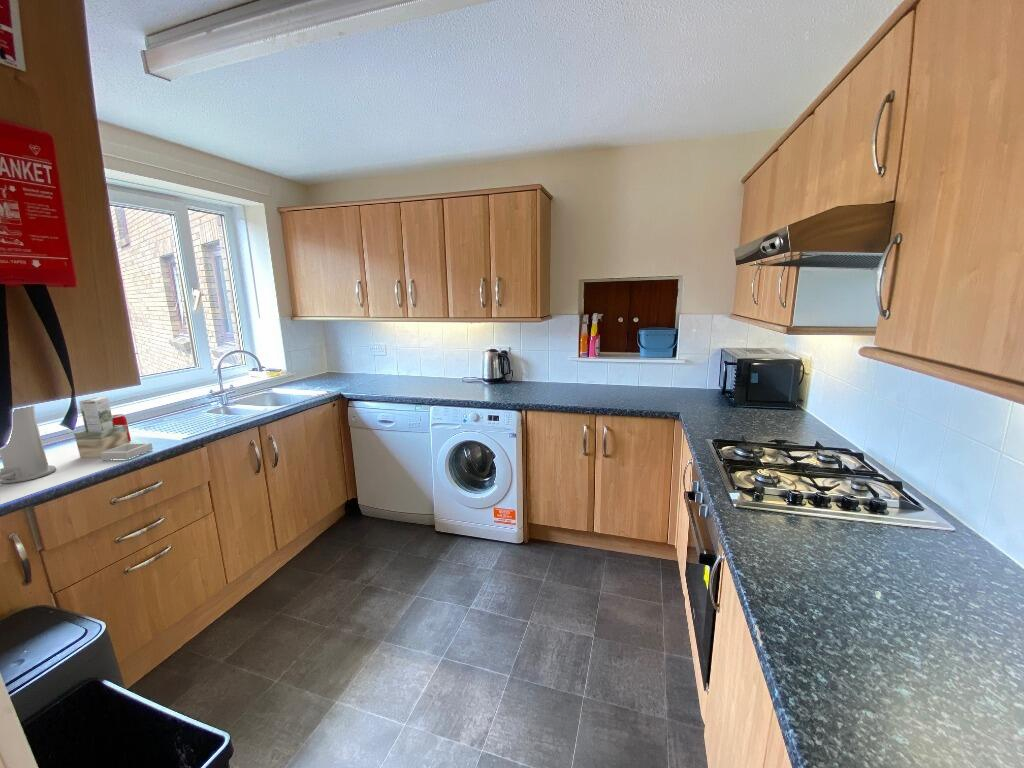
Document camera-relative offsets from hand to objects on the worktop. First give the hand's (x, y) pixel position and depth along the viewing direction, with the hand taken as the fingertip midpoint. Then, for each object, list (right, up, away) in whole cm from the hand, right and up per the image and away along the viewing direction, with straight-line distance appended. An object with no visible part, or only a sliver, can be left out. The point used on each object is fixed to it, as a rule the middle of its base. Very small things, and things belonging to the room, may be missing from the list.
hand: (50, 372), depth 156 cm
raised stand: (+13, -31, +7) cm, 34 cm away
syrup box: (+13, -24, +6) cm, 28 cm away
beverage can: (+10, -29, +18) cm, 36 cm away
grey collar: (+26, -31, +3) cm, 41 cm away
